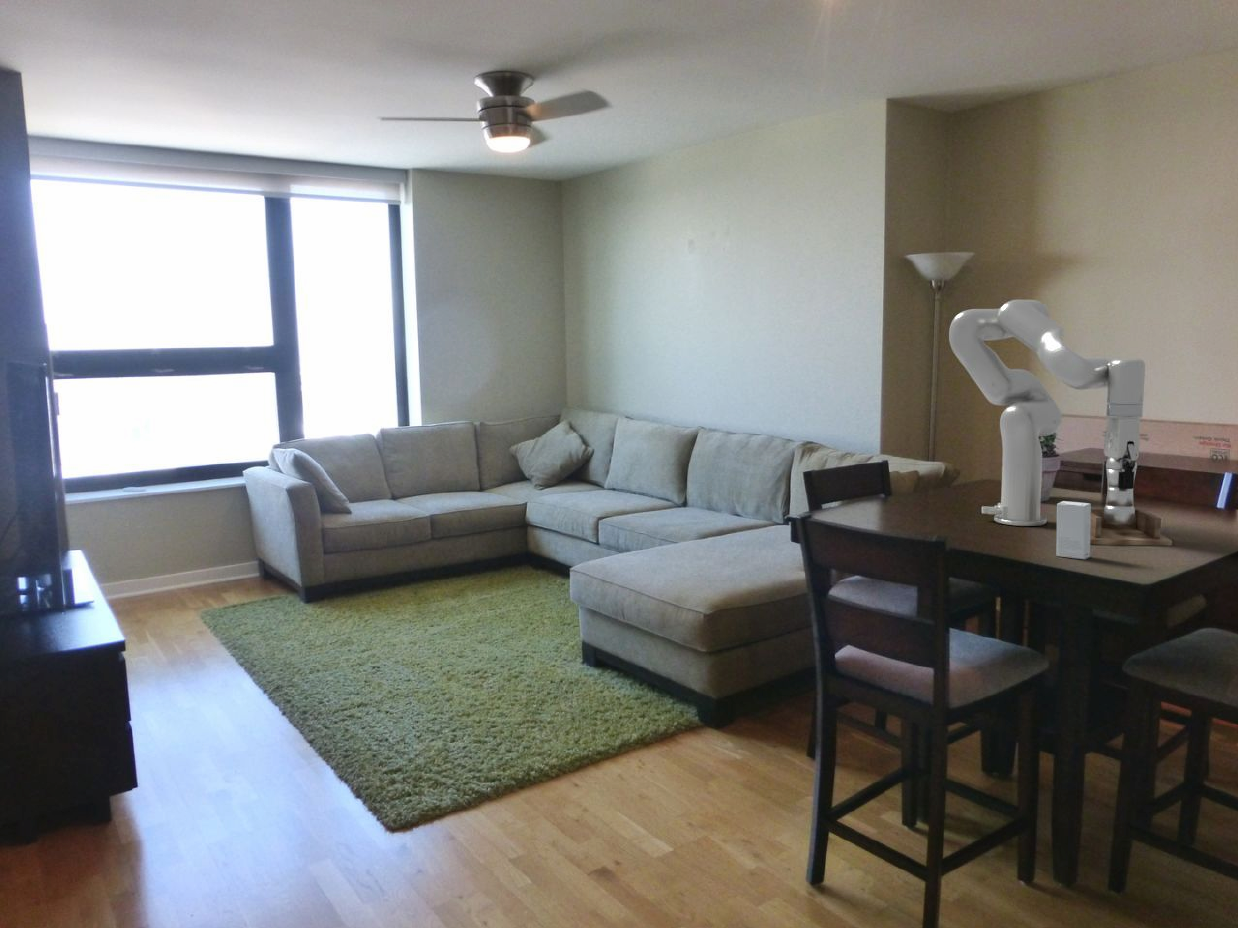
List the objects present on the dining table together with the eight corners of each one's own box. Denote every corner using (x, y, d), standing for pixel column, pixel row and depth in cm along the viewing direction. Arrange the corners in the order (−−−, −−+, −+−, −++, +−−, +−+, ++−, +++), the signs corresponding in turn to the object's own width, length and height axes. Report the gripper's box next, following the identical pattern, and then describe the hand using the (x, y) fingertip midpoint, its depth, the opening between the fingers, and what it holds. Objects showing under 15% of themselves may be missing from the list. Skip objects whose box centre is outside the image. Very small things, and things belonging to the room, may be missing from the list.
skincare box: (1090, 556, 203) (1093, 502, 202) (1084, 560, 200) (1086, 505, 199) (1061, 552, 208) (1063, 499, 206) (1054, 556, 204) (1056, 502, 203)
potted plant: (1042, 507, 262) (1045, 420, 259) (985, 497, 279) (988, 415, 276) (1082, 500, 271) (1086, 416, 268) (1025, 492, 288) (1028, 412, 285)
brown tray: (1087, 544, 215) (1088, 519, 214) (1067, 530, 231) (1068, 506, 230) (1171, 545, 212) (1173, 520, 211) (1145, 531, 228) (1146, 507, 227)
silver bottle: (1138, 527, 217) (1143, 443, 214) (1107, 527, 218) (1111, 443, 215) (1129, 522, 223) (1133, 440, 220) (1099, 522, 224) (1103, 440, 222)
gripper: (1095, 408, 226) (1091, 480, 228) (1120, 414, 209) (1115, 492, 212) (1128, 408, 225) (1124, 480, 227) (1155, 414, 208) (1151, 492, 210)
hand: (1120, 485), depth 219 cm, fingers closed on silver bottle, 6 cm apart
